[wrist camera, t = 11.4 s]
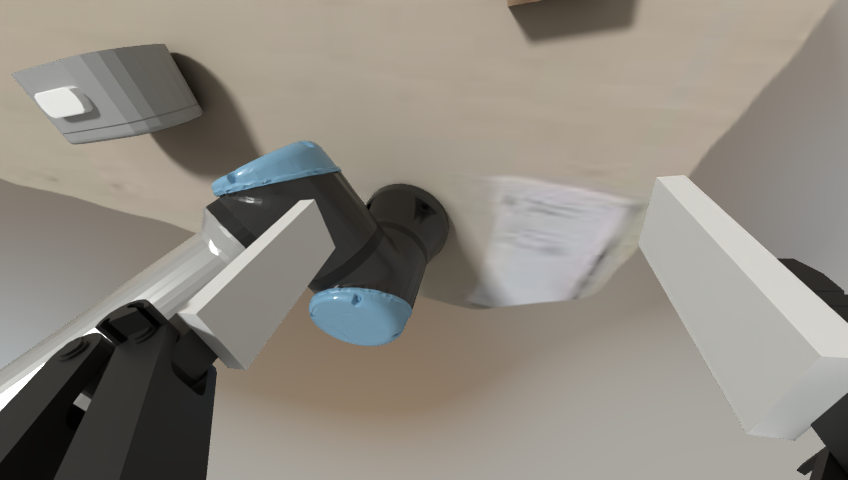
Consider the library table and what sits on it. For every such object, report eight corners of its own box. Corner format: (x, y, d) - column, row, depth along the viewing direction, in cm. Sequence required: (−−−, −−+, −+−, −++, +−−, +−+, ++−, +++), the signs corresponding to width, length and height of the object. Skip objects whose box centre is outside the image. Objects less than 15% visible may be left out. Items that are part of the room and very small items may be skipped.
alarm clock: (136, 124, 55) (48, 151, 44) (94, 64, 49) (-17, 79, 39) (222, 110, 49) (143, 137, 38) (185, 40, 43) (82, 51, 33)
